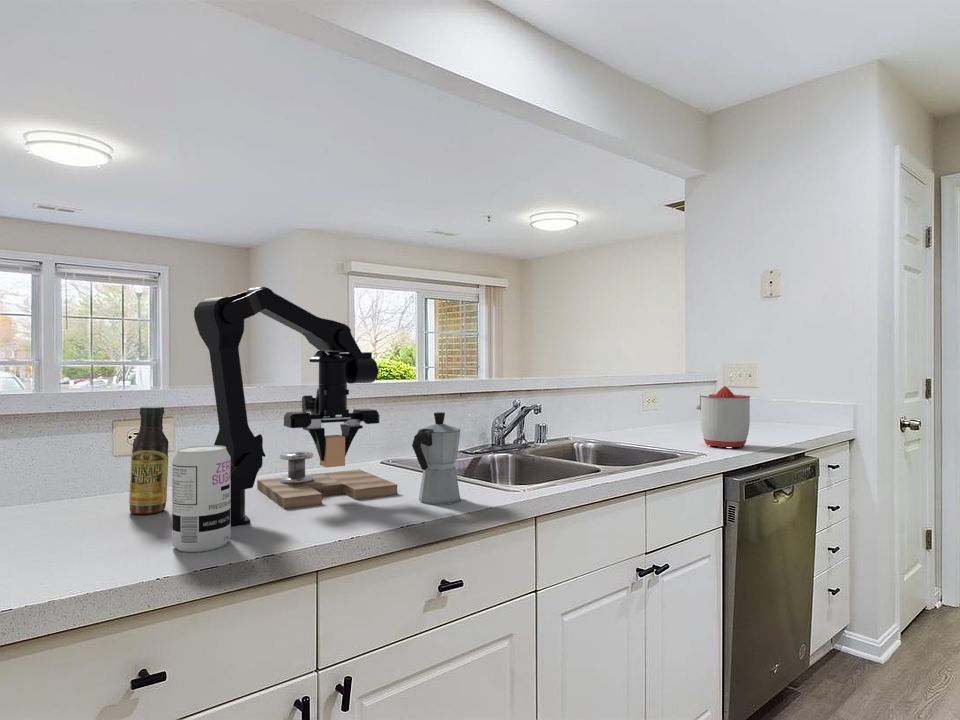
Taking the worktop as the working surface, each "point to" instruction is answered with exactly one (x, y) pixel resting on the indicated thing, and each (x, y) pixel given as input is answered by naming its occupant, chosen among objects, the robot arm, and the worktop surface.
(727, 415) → the citrus juicer
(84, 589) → the worktop surface
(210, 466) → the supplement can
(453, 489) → the coffee maker
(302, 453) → the bobbin
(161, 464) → the sauce bottle
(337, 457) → the block
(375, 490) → the board
